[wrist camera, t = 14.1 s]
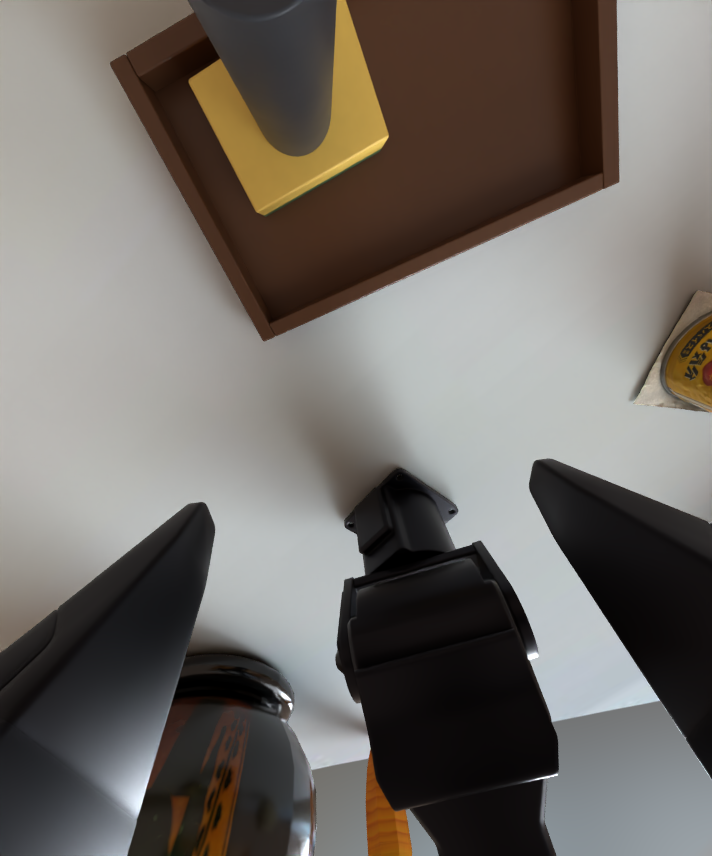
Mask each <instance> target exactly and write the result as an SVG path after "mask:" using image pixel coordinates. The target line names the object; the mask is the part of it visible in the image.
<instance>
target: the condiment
mask: <svg viewBox="0 0 712 856" xmlns="http://www.w3.org/2000/svg"><path fill="white" fill-rule="evenodd" d="M633 404H637V405H648V406H659V407H670V408H679V409H686V410H693V411H704V412H712V293H709V292H703V291H697V292H696V293H695V295H694V296H693V298H692V300H691V302H690V303H689V305H688V307H687V309H686V310H685V312H684V313H683V314H682V317H681V319H680V320H679V322H678V323H677V324H676V326H675V328H674V330H673V331H672V333H671V335H670V337H669V339H668V340H667V342H666V343H665V345H664V347H663V349H662V351H661V353H660V355H659V357H658V358H657V360H656V362H655V364H654V366H653V367H652V369H651V371H650V373H649V375H648V378H647V379H646V383H645V385H644V386H643V388H642V390H641V391H640V393H639V395H638V397H637V399H636V400H635V402H634V403H633Z"/></svg>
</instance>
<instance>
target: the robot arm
mask: <svg viewBox="0 0 712 856" xmlns="http://www.w3.org/2000/svg"><path fill="white" fill-rule="evenodd" d="M398 475H402V476H401V477H397V476H398ZM529 489H530V492H531V494H532V496H533V498H534V500H535V502H536V504H537V506H538V508H539V510H540V512H541V514H542V516H543V518H544V520H545V522H546V524H547V525H548V527H549V529H550V531H551V533H552V535H553V537H554V539H555V540H556V542H557V544H558V545H559V547H560V548H561V550H562V551H563V553H564V555H565V556H566V558H567V559H568V561H569V562H570V564H571V565H572V567H573V568H574V570H575V571H576V573H577V574H578V576H579V577H580V579H581V580H582V582H583V584H584V585H585V587H586V588H587V590H588V591H589V593H590V594H591V596H592V597H593V599H594V600H595V602H596V603H597V605H598V606H599V608H600V609H601V611H602V613H603V614H604V616H605V617H606V619H607V620H608V622H609V623H610V625H611V626H612V628H613V629H614V631H615V632H616V634H617V635H618V637H619V638H620V640H621V642H622V643H623V645H624V646H625V648H626V649H627V651H628V652H629V654H630V655H631V657H632V658H633V660H634V661H635V663H636V664H637V666H638V668H639V669H640V671H641V672H642V674H643V675H644V677H645V678H646V680H647V681H648V683H649V684H650V686H651V687H652V689H653V690H654V692H655V693H656V695H657V697H658V698H659V700H660V701H661V702H662V704H663V706H664V707H665V708H666V710H667V712H668V713H669V715H670V716H671V717H672V719H673V721H674V722H675V724H676V726H677V727H678V729H679V730H680V732H681V733H682V735H683V736H684V737H686V741H687V743H688V744H689V746H690V747H691V749H692V750H693V752H694V754H695V755H696V757H697V758H698V760H699V761H700V763H701V764H702V766H703V767H704V769H705V770H706V772H707V773H708V775H709V776H710V778H711V779H712V523H710V524H709V523H708V522H707V521H705V520H702V519H700V518H698V517H695V516H693V515H690V514H688V513H685V512H683V511H680V510H678V509H675V508H673V507H670V506H668V505H665V504H663V503H660V502H658V501H655V500H653V499H650V498H648V497H645V496H643V495H640V494H638V493H635V492H633V491H630V490H628V489H625V488H623V487H620V486H618V485H615V484H613V483H610V482H608V481H606V480H603V479H601V478H598V477H596V476H593V475H591V474H588V473H586V472H583V471H581V470H578V469H576V468H573V467H571V466H568V465H566V464H563V463H561V462H558V461H556V460H553V459H541V460H536V461H535V462H534V463H533V466H532V471H531V477H530V482H529ZM451 509H452V510H451ZM449 510H451V511H449ZM457 513H458V509H457V507H456V505H455V504H454V503H452V502H451V501H449V500H448V499H446V498H445V497H443V496H442V495H440V494H439V493H437V492H436V491H434V490H433V489H431V488H430V487H429V486H427V485H426V484H424V483H423V482H421V481H420V480H418V479H417V478H415V477H414V476H412V475H411V474H409V473H408V472H406V471H405V470H403V469H396V470H394V471H393V472H392V473H391V474H390V475H389V476H388V477H387V478H386V479H385V480H384V481H383V482H382V483H381V484H380V485H379V486H378V487H376V488H374V489H373V490H372V491H371V492H370V493H369V494H368V495H367V496H366V497H365V498H364V499H363V500H362V501H361V502H360V503H359V504H358V505H357V506H356V507H355V509H354V511H353V512H352V513H351V514H350V515H349V516H348V517H347V518H346V519H345V520H344V525H345V528H346V529H348V530H350V531H352V532H354V533H355V534H357V536H358V545H359V552H360V553H361V554H363V560H364V568H365V576H362V577H358V578H355V579H354V578H353V577H352V578H349V579H345V580H344V590H343V592H342V599H341V608H340V618H339V627H338V637H337V648H338V650H337V653H336V666H337V668H338V669H339V670H340V671H341V672H342V673H343V674H344V676H345V680H346V683H347V686H348V689H349V692H350V694H351V696H352V698H353V700H354V701H355V702H356V703H361V704H362V709H363V713H364V717H365V722H366V726H367V731H368V735H369V741H370V747H371V753H372V759H373V766H374V772H375V777H376V781H377V783H378V785H379V787H380V788H381V790H382V792H383V794H384V795H385V797H386V799H387V801H388V802H389V804H390V806H391V807H392V809H393V810H394V811H396V812H397V811H401V810H406V809H410V810H411V812H412V813H413V814H414V816H415V817H416V818H417V820H418V821H419V822H420V824H421V825H422V826H423V828H424V829H425V830H426V832H427V833H428V835H429V836H430V837H431V839H432V840H433V841H434V843H435V845H436V847H437V850H438V854H439V856H556V853H555V850H554V848H553V845H552V842H551V839H550V836H549V833H548V831H547V828H546V825H545V821H544V817H545V804H546V790H547V778H548V777H551V776H555V775H557V774H558V770H559V763H558V739H557V734H556V732H555V729H554V727H553V725H552V722H551V716H550V713H549V710H548V708H547V705H546V702H545V700H544V697H543V695H542V692H541V689H540V687H539V684H538V682H537V679H536V676H535V674H534V671H533V669H532V666H531V663H530V661H529V659H533V658H537V657H538V648H537V644H536V641H535V637H534V635H533V632H532V629H531V626H530V624H529V621H528V619H527V616H526V614H525V612H524V610H523V607H522V605H521V603H520V601H519V599H518V597H517V595H516V593H515V591H514V590H513V588H512V586H511V584H510V583H509V581H508V580H507V578H506V577H505V575H504V574H503V572H502V571H501V570H500V568H499V567H498V565H497V564H496V562H495V561H494V559H493V558H492V556H491V555H490V553H489V552H488V550H487V549H486V548H485V546H484V545H483V543H482V542H481V541H477V542H474V543H472V545H470V546H466V547H463V548H459V549H455V546H454V544H453V542H452V539H451V537H450V535H449V533H448V530H447V528H446V526H445V524H446V523H447V522H448V521H449V520H450V519H452V518H453V517H454V516H455V515H456V514H457ZM351 522H352V524H350V523H351ZM214 536H215V525H214V522H213V520H212V517H211V515H210V512H209V510H208V507H207V505H206V504H205V503H203V502H199V503H191V504H188V505H186V506H185V507H184V508H183V509H181V510H180V511H179V512H178V513H176V514H175V515H174V516H172V517H171V518H170V519H169V520H167V521H166V522H165V523H164V524H162V525H161V526H160V527H159V528H157V529H156V530H155V531H154V532H152V533H151V534H150V535H149V536H147V537H146V538H145V539H144V540H142V541H141V542H140V543H139V544H137V545H136V546H135V547H134V548H132V549H131V550H130V551H129V552H127V553H126V554H125V555H124V556H122V557H121V558H120V559H119V560H117V561H116V562H115V563H114V564H112V565H111V566H110V567H109V568H107V569H106V570H105V571H104V572H102V573H101V574H100V575H99V576H97V577H96V578H95V579H94V580H92V581H91V582H90V583H89V584H87V585H86V586H85V587H84V588H82V589H81V590H80V591H79V592H77V593H76V594H75V595H73V596H72V597H71V598H70V599H68V600H67V601H66V602H65V603H63V604H62V605H61V606H60V607H59V608H58V610H55V611H53V612H52V613H51V614H50V615H48V616H47V617H46V618H45V619H43V620H42V621H41V622H40V623H38V624H37V625H36V626H35V627H33V628H32V629H31V630H29V631H28V632H27V633H26V634H24V635H23V636H22V637H20V638H19V639H18V640H17V641H15V642H14V643H13V644H11V645H10V646H9V647H8V648H6V649H5V650H4V651H2V652H1V653H0V856H127V854H128V851H129V847H130V844H131V841H132V837H133V834H134V830H135V827H136V824H137V820H136V819H137V818H138V816H139V812H140V809H141V805H142V802H143V799H144V795H145V792H146V788H147V785H148V782H149V778H150V775H151V771H152V768H153V764H154V761H155V758H156V754H157V751H158V747H159V744H160V741H161V737H162V734H163V730H164V727H165V724H166V720H167V717H168V713H169V710H170V706H171V703H172V700H173V696H174V693H175V689H176V686H177V683H178V679H179V676H180V672H181V669H182V666H183V662H184V659H185V655H186V652H187V648H188V645H189V642H190V638H191V635H192V631H193V628H194V625H195V621H196V618H197V614H198V611H199V608H200V604H201V601H202V597H203V594H204V590H205V586H206V581H207V576H208V570H209V565H210V559H211V553H212V548H213V542H214Z"/></svg>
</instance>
